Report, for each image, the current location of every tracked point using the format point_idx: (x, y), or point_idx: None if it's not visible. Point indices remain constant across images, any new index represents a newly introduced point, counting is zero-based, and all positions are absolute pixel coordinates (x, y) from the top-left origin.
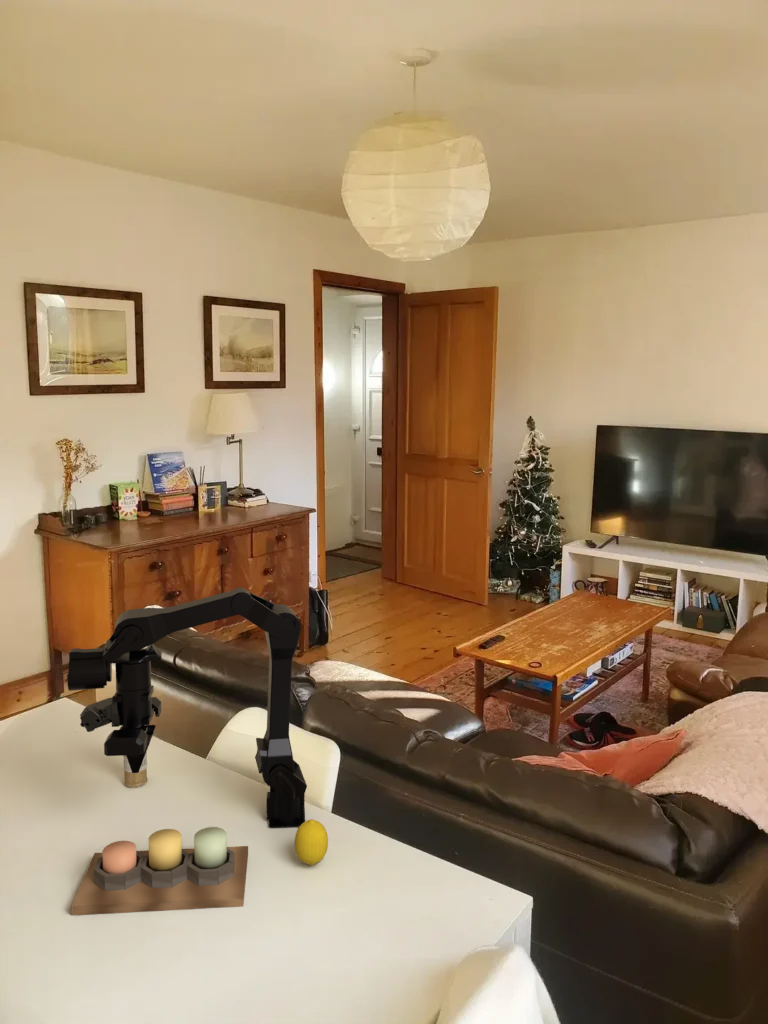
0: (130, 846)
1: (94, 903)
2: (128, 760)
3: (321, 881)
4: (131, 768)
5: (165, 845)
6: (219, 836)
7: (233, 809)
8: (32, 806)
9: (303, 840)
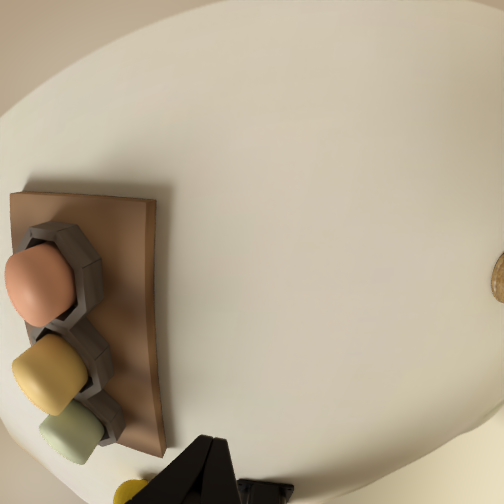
0: (36, 315)
1: (13, 231)
2: (146, 486)
3: (117, 473)
4: (181, 453)
5: (17, 381)
6: (62, 452)
7: (319, 453)
8: (453, 33)
9: (114, 500)
